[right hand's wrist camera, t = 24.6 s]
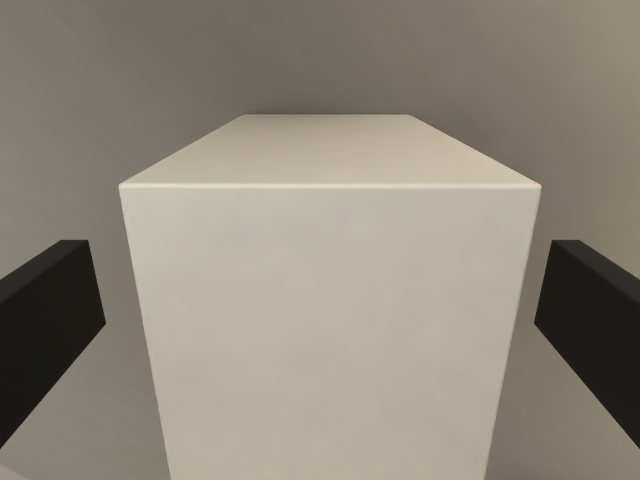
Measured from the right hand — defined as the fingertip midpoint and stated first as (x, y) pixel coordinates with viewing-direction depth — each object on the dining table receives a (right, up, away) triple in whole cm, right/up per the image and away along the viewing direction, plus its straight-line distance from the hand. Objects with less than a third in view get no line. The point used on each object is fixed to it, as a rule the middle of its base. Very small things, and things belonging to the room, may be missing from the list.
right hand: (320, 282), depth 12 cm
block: (0, +2, +6) cm, 7 cm away
